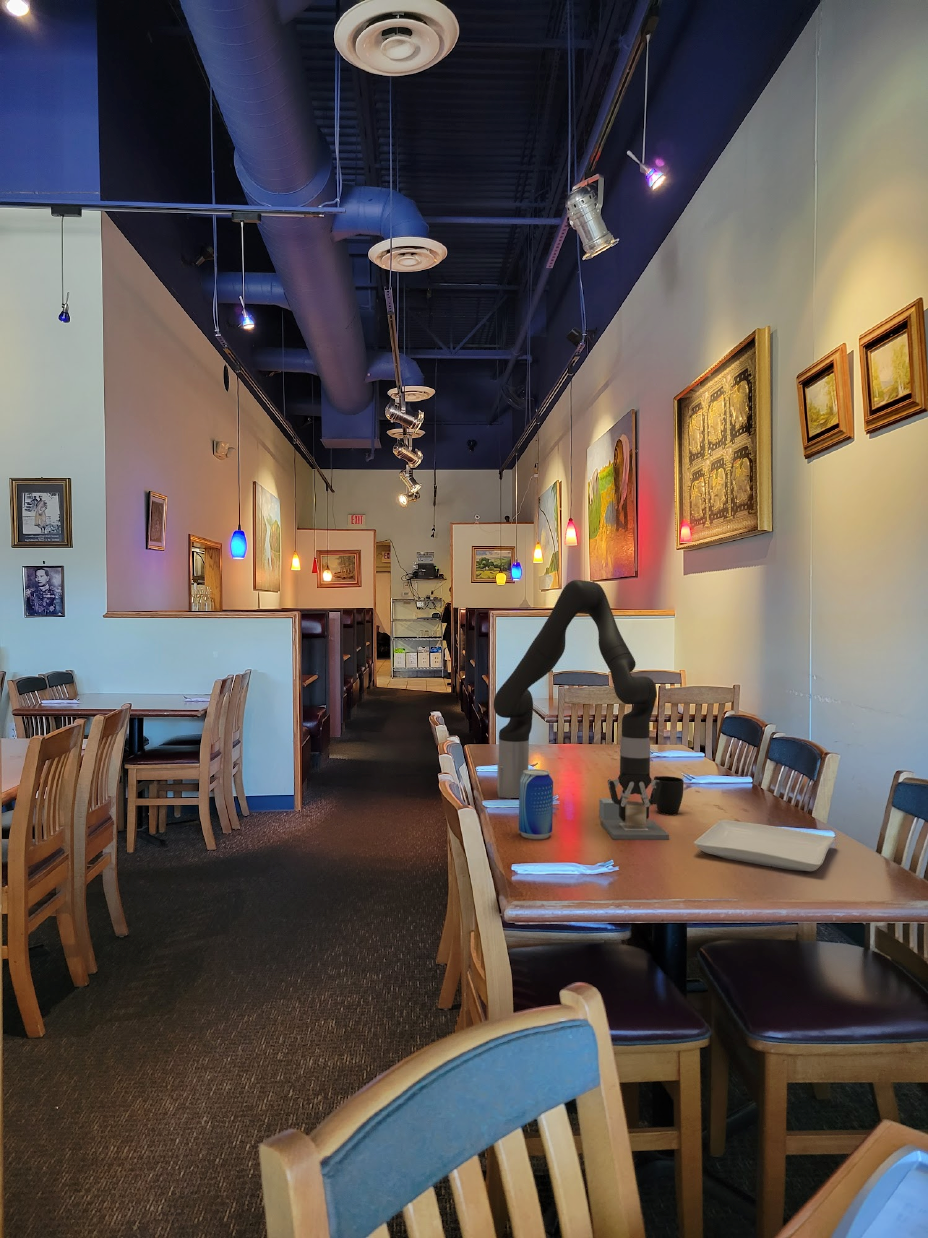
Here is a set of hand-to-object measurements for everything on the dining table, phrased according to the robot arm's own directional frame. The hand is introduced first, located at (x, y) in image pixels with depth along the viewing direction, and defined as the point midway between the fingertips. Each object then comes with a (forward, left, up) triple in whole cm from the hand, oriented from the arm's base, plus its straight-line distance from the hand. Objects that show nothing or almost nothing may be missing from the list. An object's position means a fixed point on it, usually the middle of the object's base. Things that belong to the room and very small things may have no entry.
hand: (633, 820), depth 198 cm
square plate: (+27, -17, -4) cm, 32 cm away
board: (0, 0, -3) cm, 3 cm away
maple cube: (0, 0, -1) cm, 1 cm away
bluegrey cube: (-3, +13, -3) cm, 14 cm away
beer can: (-26, -4, -3) cm, 26 cm away
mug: (+15, +22, -3) cm, 27 cm away
